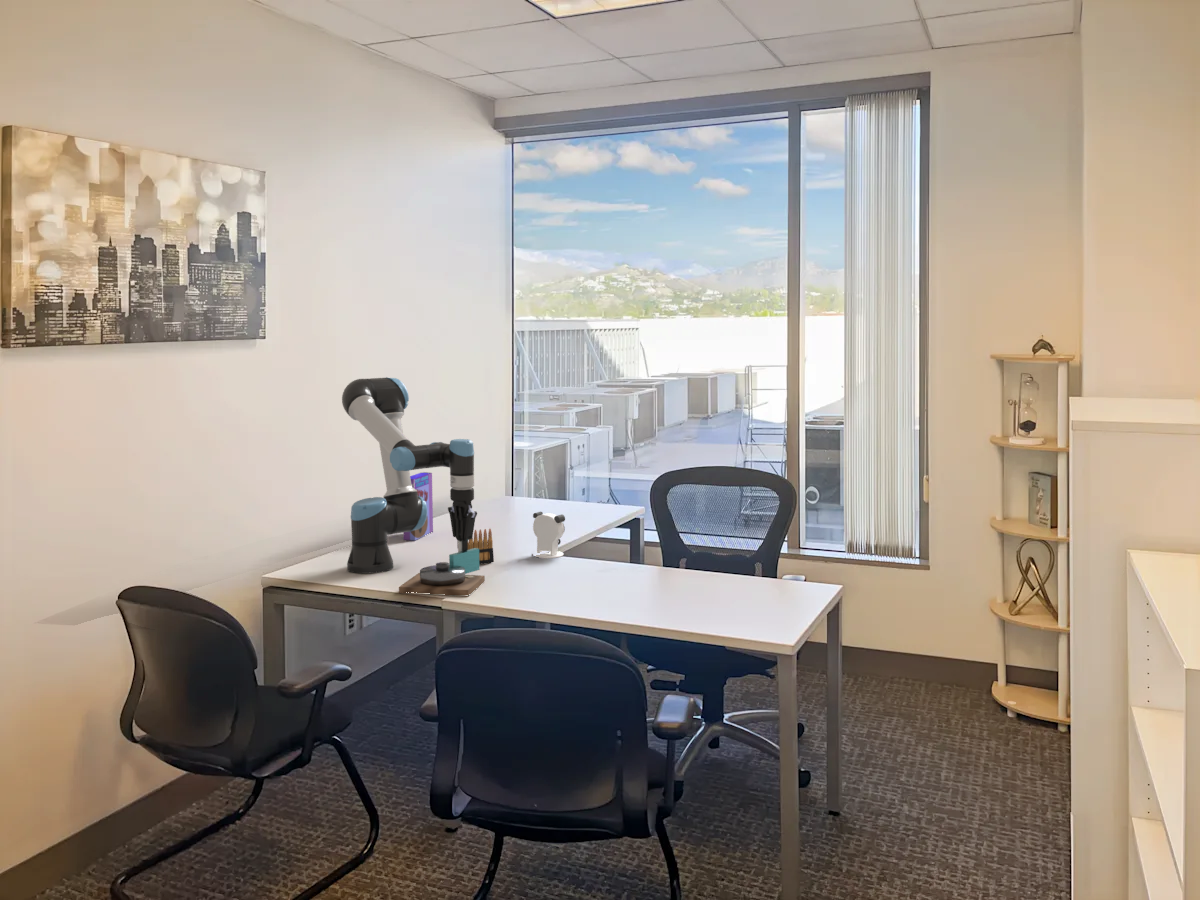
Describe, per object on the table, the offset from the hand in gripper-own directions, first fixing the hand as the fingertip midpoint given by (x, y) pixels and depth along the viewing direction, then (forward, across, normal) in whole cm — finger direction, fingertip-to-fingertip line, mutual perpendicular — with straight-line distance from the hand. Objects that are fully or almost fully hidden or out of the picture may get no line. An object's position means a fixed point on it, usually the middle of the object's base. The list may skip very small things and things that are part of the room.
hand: (462, 560), depth 323 cm
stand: (+6, +4, -10) cm, 13 cm away
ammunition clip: (+7, -14, +17) cm, 23 cm away
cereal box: (+7, -67, +27) cm, 73 cm away
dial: (+4, +3, -6) cm, 8 cm away
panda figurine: (+7, -8, +43) cm, 44 cm away
